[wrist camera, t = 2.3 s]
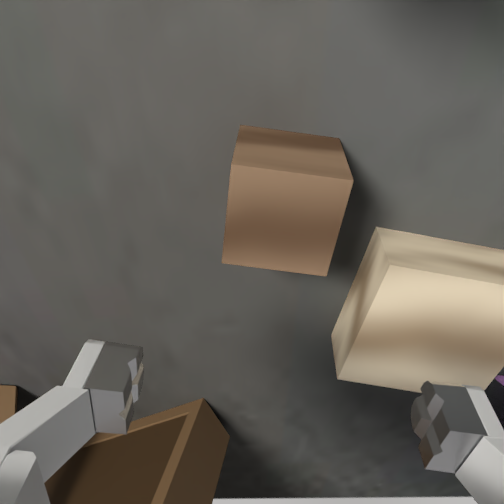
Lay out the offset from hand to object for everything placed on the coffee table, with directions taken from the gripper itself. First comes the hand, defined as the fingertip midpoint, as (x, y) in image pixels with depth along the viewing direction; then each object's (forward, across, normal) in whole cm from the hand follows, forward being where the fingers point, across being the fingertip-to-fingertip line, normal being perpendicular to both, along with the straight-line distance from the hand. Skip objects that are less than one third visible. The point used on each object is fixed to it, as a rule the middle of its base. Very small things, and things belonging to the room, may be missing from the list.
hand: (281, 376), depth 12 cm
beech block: (+13, -10, +6) cm, 18 cm away
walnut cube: (+13, 0, -1) cm, 13 cm away
